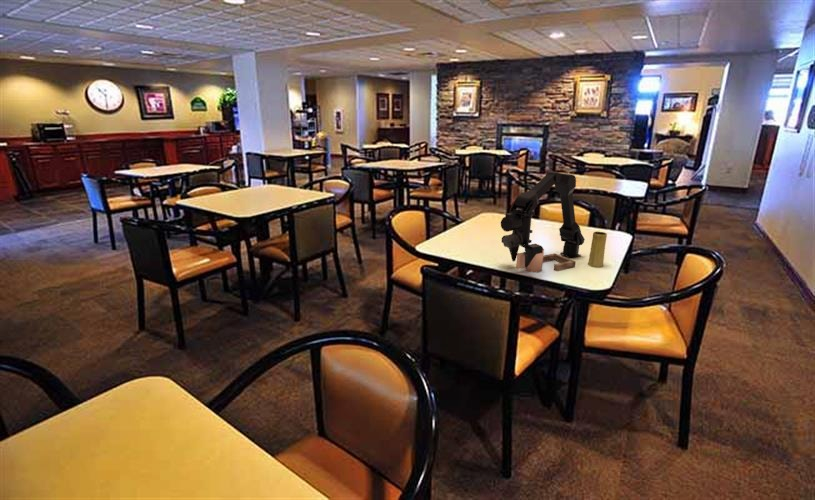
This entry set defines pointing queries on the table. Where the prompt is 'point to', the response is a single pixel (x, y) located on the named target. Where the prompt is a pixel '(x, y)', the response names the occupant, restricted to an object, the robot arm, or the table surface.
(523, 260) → the pink block
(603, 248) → the vase
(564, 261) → the walnut holder
